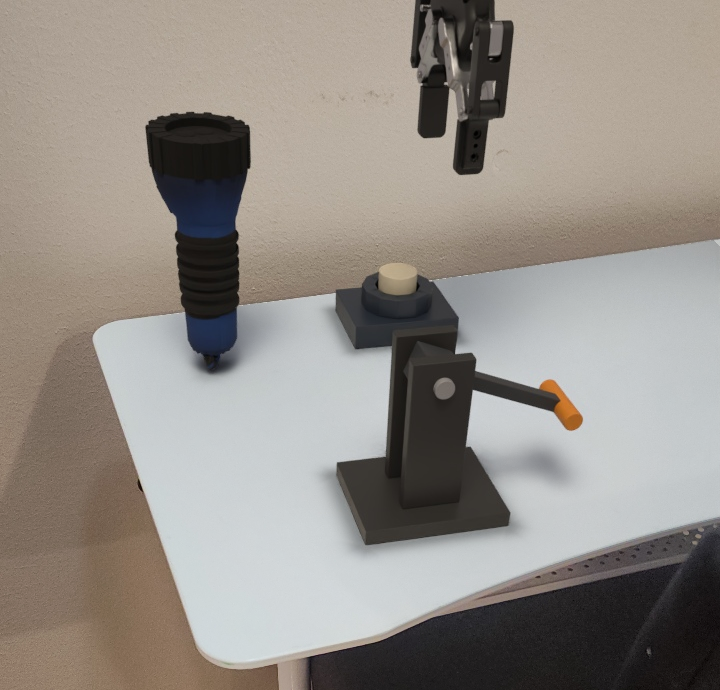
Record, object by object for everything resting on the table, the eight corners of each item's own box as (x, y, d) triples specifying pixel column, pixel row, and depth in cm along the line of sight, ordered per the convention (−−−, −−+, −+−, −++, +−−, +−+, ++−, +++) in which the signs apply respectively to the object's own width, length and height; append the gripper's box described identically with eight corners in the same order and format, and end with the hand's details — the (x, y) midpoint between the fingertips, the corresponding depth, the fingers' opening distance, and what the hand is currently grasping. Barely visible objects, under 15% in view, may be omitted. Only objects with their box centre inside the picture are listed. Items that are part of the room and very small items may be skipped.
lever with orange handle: (547, 403, 76) (563, 375, 75) (573, 438, 72) (590, 410, 71) (397, 361, 70) (410, 330, 69) (417, 397, 67) (432, 365, 65)
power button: (410, 279, 96) (411, 261, 94) (421, 295, 93) (422, 277, 92) (373, 282, 95) (374, 264, 94) (383, 298, 92) (384, 280, 91)
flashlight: (249, 339, 94) (238, 106, 80) (269, 380, 88) (261, 139, 74) (163, 349, 92) (137, 112, 78) (178, 392, 86) (153, 146, 72)
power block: (431, 302, 100) (435, 263, 98) (457, 339, 95) (461, 299, 92) (335, 310, 98) (335, 271, 96) (355, 349, 93) (356, 308, 90)
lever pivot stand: (469, 458, 80) (488, 307, 71) (508, 525, 74) (535, 369, 65) (336, 474, 78) (339, 320, 69) (365, 545, 72) (372, 385, 63)
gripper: (567, -83, 63) (527, 184, 74) (486, -117, 73) (462, 123, 84) (455, -83, 61) (432, 190, 72) (388, -118, 71) (376, 127, 82)
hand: (448, 154), depth 78 cm, fingers open, 8 cm apart
